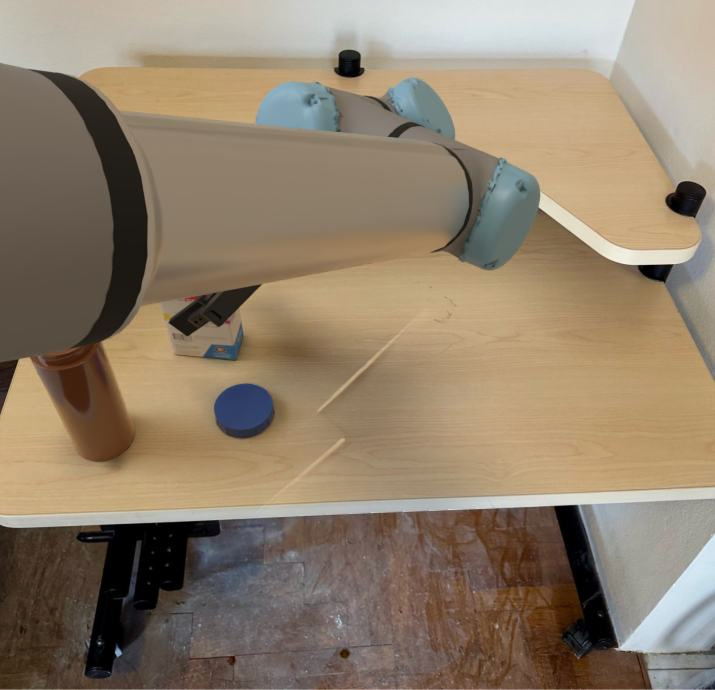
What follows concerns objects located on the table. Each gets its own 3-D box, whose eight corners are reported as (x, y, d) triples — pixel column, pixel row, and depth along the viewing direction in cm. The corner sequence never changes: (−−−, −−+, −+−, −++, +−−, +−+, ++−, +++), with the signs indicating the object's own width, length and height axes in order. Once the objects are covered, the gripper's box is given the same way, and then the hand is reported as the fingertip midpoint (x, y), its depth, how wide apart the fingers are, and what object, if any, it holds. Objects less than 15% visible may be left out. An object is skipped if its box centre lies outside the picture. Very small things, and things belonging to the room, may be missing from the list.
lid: (248, 382, 84) (247, 374, 83) (285, 414, 81) (284, 405, 80) (203, 414, 81) (201, 405, 80) (240, 448, 78) (239, 439, 77)
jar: (95, 472, 75) (47, 371, 62) (63, 437, 78) (10, 334, 65) (146, 435, 79) (110, 333, 66) (113, 404, 82) (72, 300, 69)
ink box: (244, 334, 90) (232, 249, 79) (236, 362, 87) (222, 277, 76) (182, 328, 91) (162, 242, 80) (171, 355, 87) (149, 270, 76)
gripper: (320, 302, 62) (188, 383, 74) (361, 158, 79) (248, 243, 91) (260, 250, 58) (132, 344, 71) (316, 111, 75) (205, 206, 87)
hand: (197, 288), depth 81 cm, fingers open, 13 cm apart
